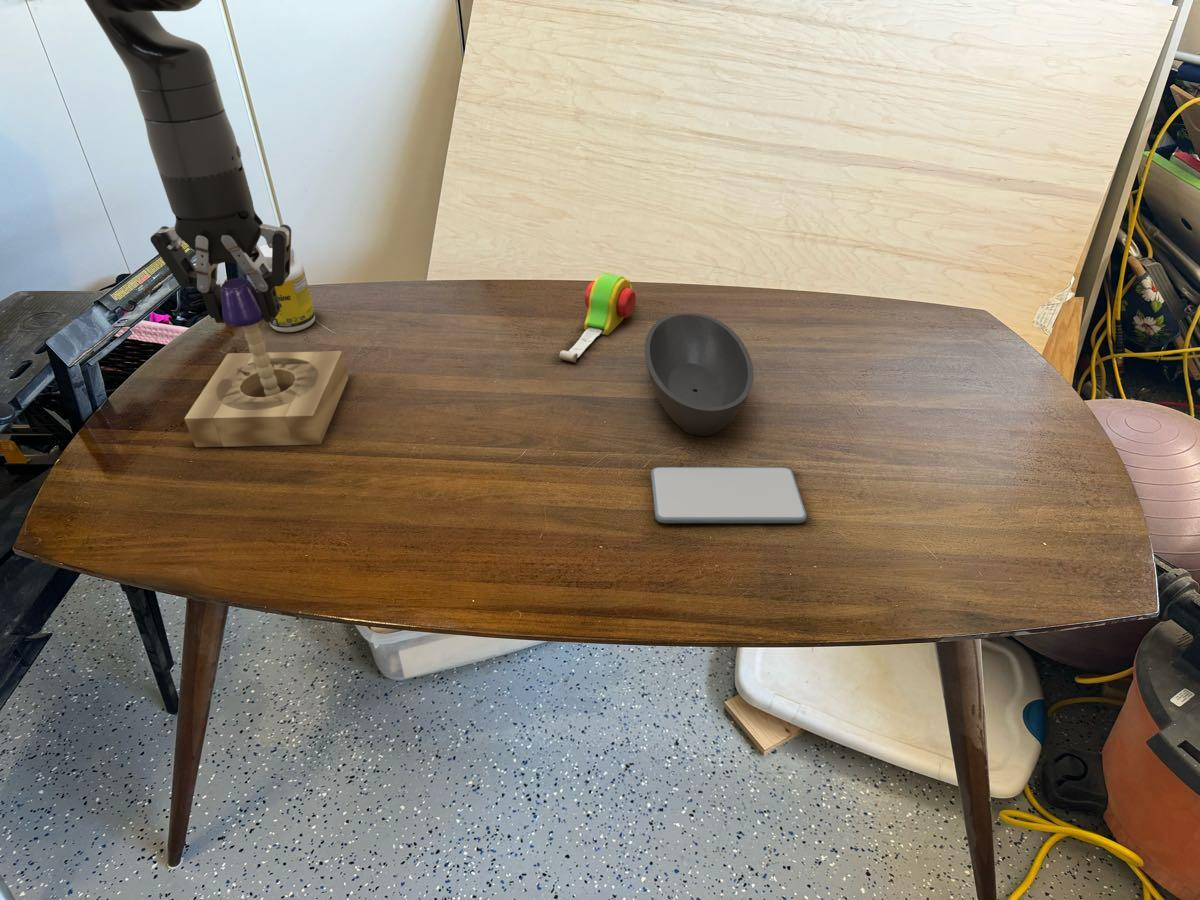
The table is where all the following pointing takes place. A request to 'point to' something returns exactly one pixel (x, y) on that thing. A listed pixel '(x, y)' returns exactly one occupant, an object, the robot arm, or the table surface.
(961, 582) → the table surface
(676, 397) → the bowl
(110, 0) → the robot arm
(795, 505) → the smartphone
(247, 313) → the toy lamp
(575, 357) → the toy measuring tape
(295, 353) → the socket base
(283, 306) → the pill bottle
